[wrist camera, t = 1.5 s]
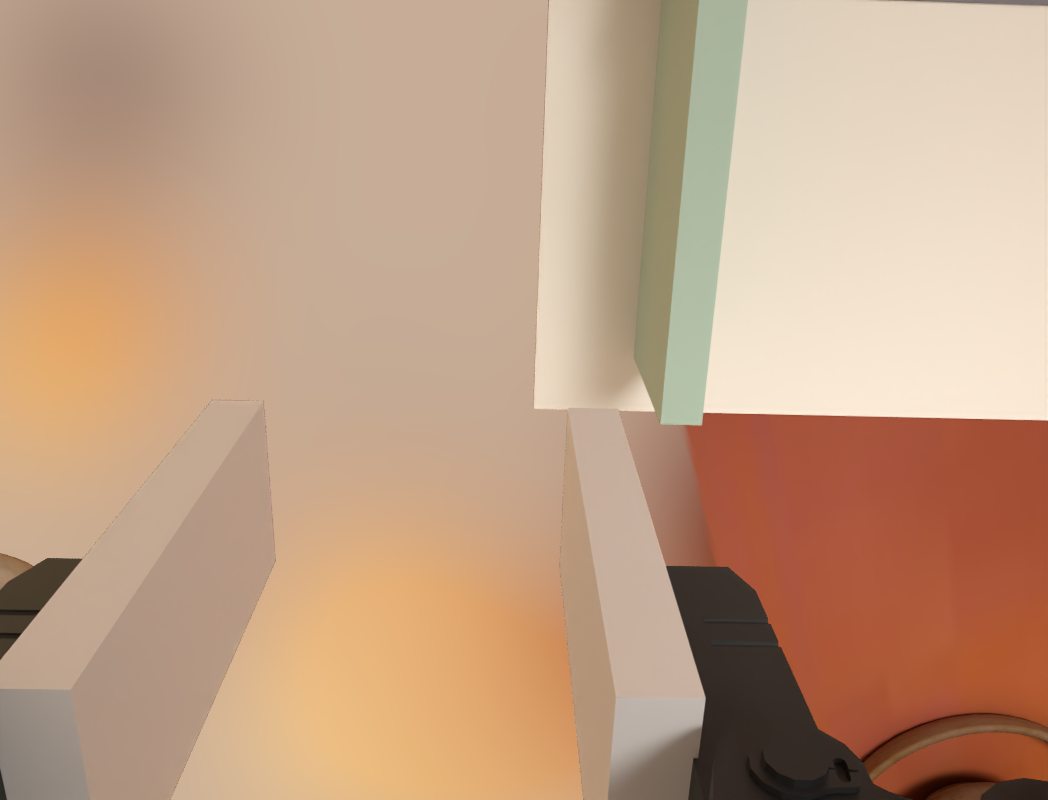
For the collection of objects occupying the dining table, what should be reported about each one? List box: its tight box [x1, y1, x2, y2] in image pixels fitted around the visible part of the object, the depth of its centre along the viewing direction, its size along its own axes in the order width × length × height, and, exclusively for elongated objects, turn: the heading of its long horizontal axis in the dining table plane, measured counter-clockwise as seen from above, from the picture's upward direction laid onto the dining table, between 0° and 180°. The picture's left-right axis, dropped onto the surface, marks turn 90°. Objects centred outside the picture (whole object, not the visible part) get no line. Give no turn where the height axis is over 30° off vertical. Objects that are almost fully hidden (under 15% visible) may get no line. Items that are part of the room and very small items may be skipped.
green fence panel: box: [634, 0, 748, 425], centre depth 27 cm, size 1×12×6 cm, turn 178°
